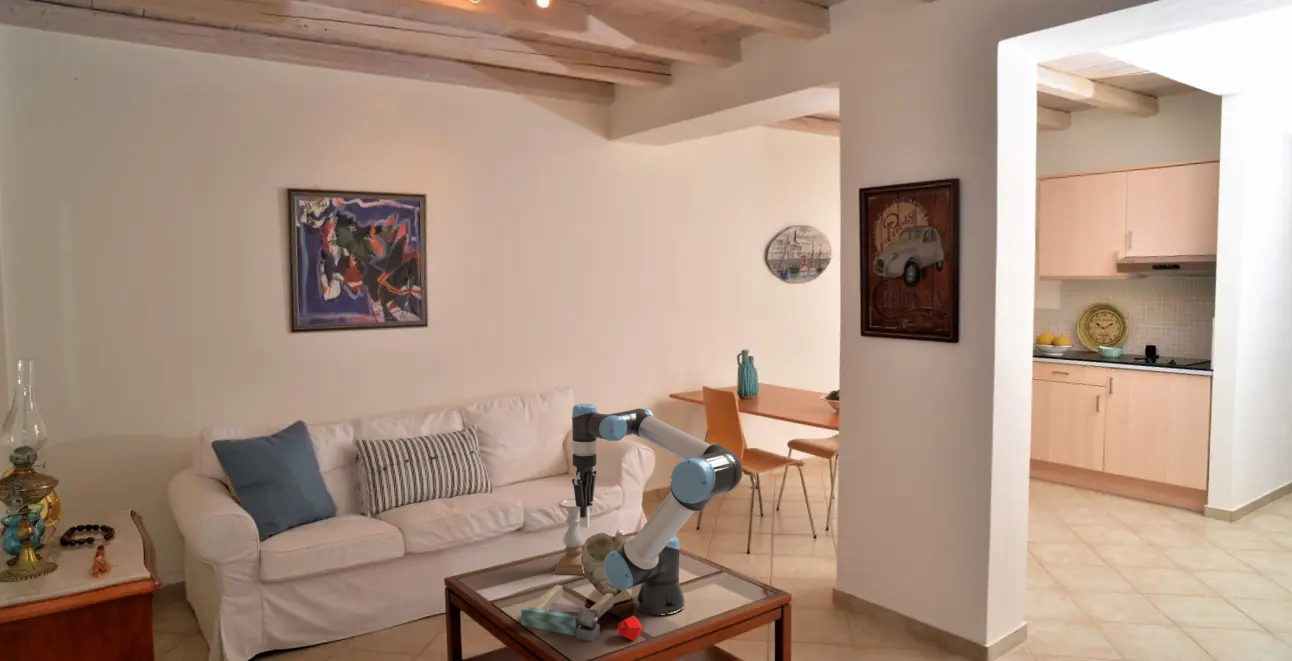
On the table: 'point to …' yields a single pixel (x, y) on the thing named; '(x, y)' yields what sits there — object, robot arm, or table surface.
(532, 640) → the table surface
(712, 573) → the table surface
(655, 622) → the table surface
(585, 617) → the winch
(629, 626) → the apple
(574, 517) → the candle holder
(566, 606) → the stone
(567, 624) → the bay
